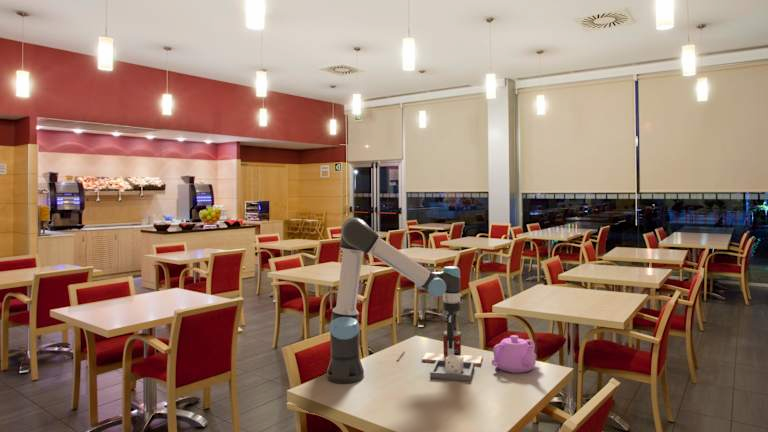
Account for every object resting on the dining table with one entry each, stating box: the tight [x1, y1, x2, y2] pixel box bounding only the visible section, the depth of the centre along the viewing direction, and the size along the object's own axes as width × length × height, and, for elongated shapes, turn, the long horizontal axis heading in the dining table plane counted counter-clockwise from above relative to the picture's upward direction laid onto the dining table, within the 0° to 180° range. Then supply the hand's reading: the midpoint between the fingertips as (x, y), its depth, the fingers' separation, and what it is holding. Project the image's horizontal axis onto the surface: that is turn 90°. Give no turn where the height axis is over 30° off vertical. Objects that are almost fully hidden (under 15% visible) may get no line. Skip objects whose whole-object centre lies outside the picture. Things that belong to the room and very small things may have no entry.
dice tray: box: [429, 360, 475, 382], centre depth 213 cm, size 16×16×2 cm
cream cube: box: [445, 354, 463, 374], centre depth 212 cm, size 6×6×6 cm
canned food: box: [442, 329, 462, 358], centre depth 229 cm, size 8×8×11 cm
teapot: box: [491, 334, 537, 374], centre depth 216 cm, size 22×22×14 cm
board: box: [396, 351, 483, 367], centre depth 230 cm, size 37×13×1 cm, turn 75°
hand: (452, 352), depth 229 cm, fingers open, 8 cm apart
